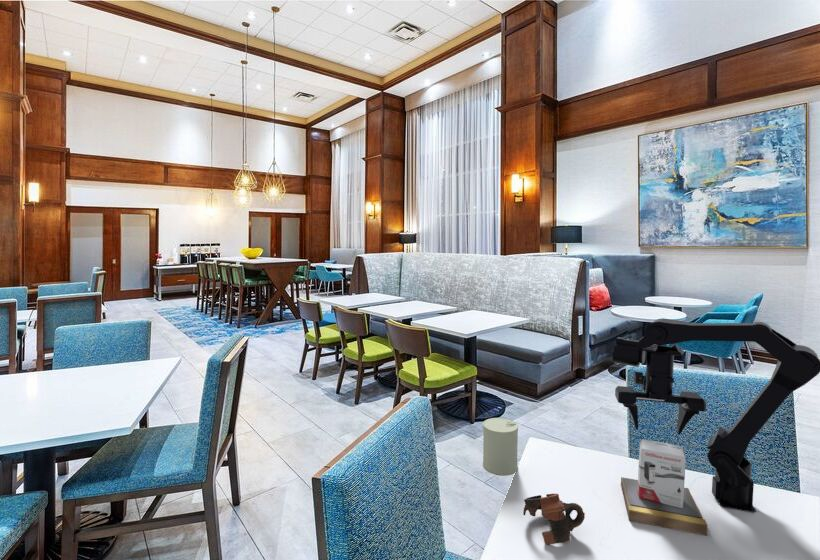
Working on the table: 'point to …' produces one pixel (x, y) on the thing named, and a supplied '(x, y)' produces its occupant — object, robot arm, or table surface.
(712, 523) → the table surface
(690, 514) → the framed panel
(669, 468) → the ink box
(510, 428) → the can
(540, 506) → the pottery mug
